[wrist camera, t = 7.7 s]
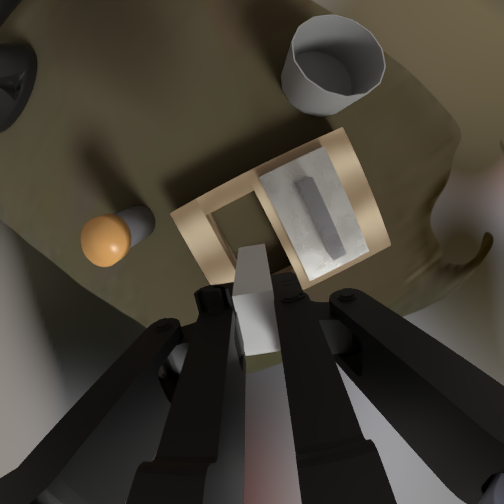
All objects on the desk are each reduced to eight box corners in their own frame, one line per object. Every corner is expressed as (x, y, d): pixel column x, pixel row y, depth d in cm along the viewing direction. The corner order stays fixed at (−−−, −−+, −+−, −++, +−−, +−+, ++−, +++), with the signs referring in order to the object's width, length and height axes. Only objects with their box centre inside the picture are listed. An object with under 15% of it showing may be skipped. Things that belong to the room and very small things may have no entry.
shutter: (258, 177, 29) (259, 177, 25) (322, 146, 28) (330, 144, 25) (308, 278, 32) (314, 290, 28) (366, 249, 31) (378, 258, 27)
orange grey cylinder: (117, 214, 33) (73, 232, 24) (146, 195, 33) (106, 207, 23) (134, 246, 34) (96, 274, 25) (164, 229, 34) (131, 253, 24)
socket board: (178, 208, 33) (169, 213, 30) (333, 131, 31) (342, 127, 27) (234, 308, 37) (233, 321, 33) (379, 237, 34) (391, 245, 31)
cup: (317, 41, 28) (338, 2, 18) (364, 90, 29) (402, 66, 20) (265, 79, 29) (270, 45, 20) (315, 130, 31) (340, 115, 21)
